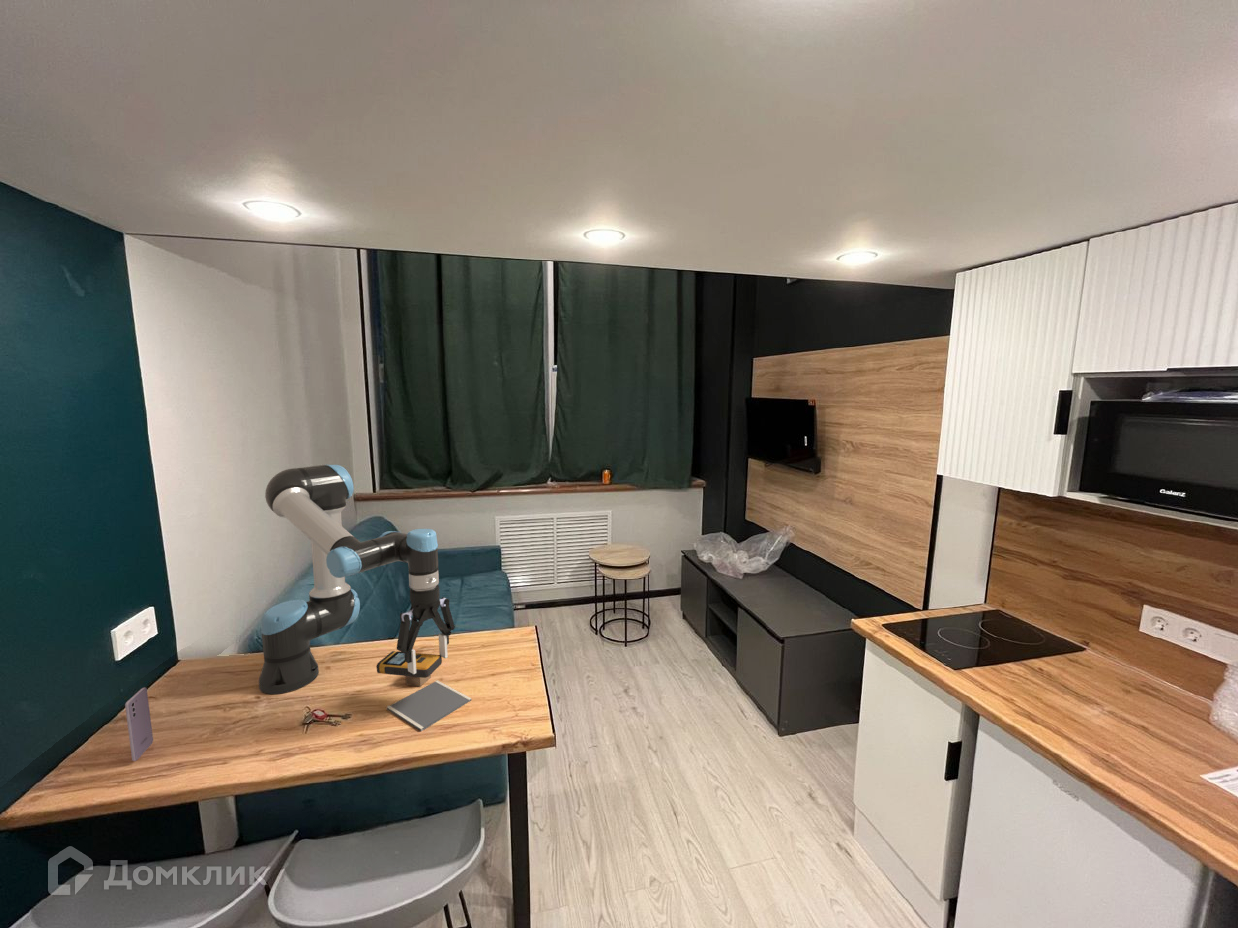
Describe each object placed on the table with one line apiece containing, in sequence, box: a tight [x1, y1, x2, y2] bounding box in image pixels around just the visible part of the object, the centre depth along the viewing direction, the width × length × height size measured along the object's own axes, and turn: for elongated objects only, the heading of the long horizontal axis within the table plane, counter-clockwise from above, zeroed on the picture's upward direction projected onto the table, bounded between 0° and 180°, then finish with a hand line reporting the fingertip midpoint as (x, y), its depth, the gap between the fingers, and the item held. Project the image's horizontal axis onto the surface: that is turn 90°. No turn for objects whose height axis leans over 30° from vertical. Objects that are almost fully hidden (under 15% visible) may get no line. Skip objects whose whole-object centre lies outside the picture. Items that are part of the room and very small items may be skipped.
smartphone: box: [124, 687, 154, 762], centre depth 117 cm, size 7×1×15 cm, turn 18°
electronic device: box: [376, 650, 443, 678], centre depth 137 cm, size 8×16×3 cm, turn 79°
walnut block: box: [405, 674, 432, 688], centre depth 148 cm, size 5×5×5 cm
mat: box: [386, 680, 472, 732], centre depth 137 cm, size 16×16×1 cm
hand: (428, 664), depth 136 cm, fingers closed on electronic device, 9 cm apart
